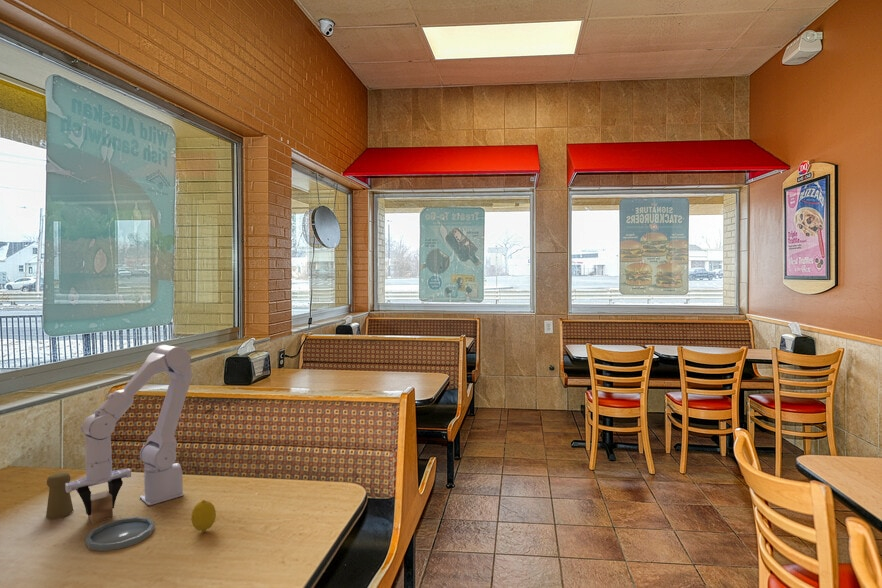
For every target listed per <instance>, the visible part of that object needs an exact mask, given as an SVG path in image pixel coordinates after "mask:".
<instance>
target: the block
mask: <svg viewBox="0 0 882 588" xmlns="http://www.w3.org/2000/svg"><path fill="white" fill-rule="evenodd" d="M113 509H114V508H113V505H112V495H111V494H110V493H109V490H105V491H101V492H96V493H93V494H92V493H91V515H87V518H88V520H89V519H90V520H91V521H90V520H89V521H90V522H91V524H92V523H93V524H95V523H94V522H96V523H99V522H98V521H100V522H102V521H101V520H103V521H105V520H104V519H107V520H109V519H108V518H110V519H113V518H114V516H113V515H114V513H113ZM112 517H113V518H112Z"/></svg>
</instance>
